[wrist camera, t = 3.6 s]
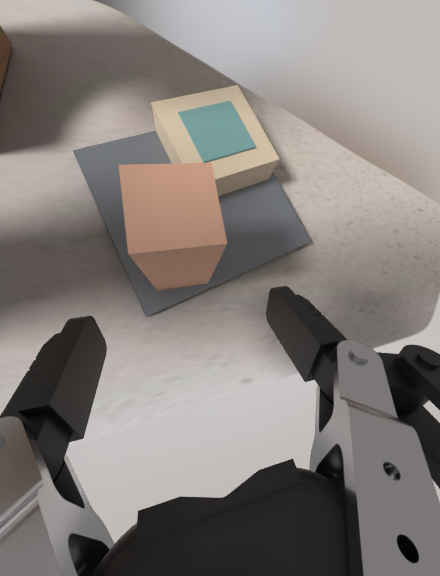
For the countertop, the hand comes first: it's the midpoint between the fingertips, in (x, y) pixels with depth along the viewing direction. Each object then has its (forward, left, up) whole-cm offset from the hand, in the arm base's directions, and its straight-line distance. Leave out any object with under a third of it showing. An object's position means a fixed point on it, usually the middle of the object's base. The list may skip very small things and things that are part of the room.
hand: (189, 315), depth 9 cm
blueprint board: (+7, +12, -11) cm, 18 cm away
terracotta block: (+2, +6, -10) cm, 12 cm away
